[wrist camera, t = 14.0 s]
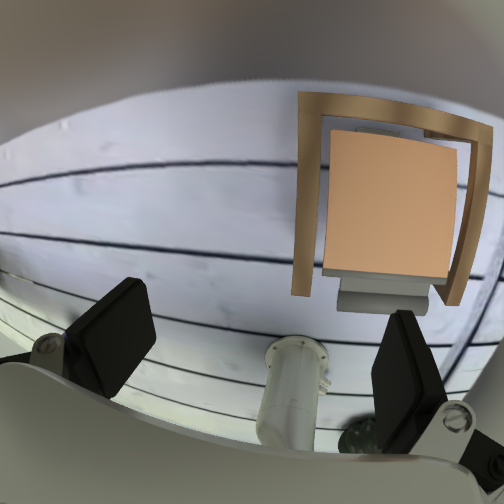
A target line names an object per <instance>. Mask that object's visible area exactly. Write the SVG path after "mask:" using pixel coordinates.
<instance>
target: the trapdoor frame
mask: <svg viewBox="0 0 504 504" xmlns="http://www.w3.org/2000/svg"><path fill="white" fill-rule="evenodd" d="M321 115H322V116H335V117H346V118H356V119H365V120H373V121H380V122H387V123H393V124H399V125H405V126H410V127H416V128H421V129H424V137H426V138H431V139H435V140H447V141H457V142H466V143H471V155H470V167H469V177H468V185H467V193H466V200H465V206H464V212H463V217H462V223H461V228H460V233H459V237H458V242H457V246H456V250H455V254H454V258H453V262H452V266H451V269H450V272H449V270H448V275H447V282H446V284H445V285H434V284H433V286H434V288H435V289H436V291H437V292H438V294H439V296H440V297H441V299H442V301H443V302H444V304H445V306H459V304H460V302H461V299H462V296H463V293H464V290H465V287H466V284H467V281H468V278H469V275H470V272H471V268H472V265H473V261H474V258H475V254H476V250H477V246H478V242H479V238H480V234H481V229H482V224H483V219H484V214H485V208H486V203H487V196H488V189H489V181H490V172H491V162H492V146H493V127H492V126H489V125H486V124H483V123H480V122H477V121H474V120H471V119H468V118H464V117H461V116H457V115H454V114H450V113H447V112H443V111H439V110H435V109H431V108H426V107H422V106H417V105H412V104H407V103H402V102H397V101H391V100H385V99H378V98H371V97H363V96H355V95H345V94H334V93H320V92H298V171H297V201H296V224H295V243H294V260H293V275H292V289H291V295H294V296H304V297H310V293H311V284H312V274H313V264H314V254H315V242H316V230H317V216H318V200H319V182H320V157H321Z"/></svg>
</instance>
